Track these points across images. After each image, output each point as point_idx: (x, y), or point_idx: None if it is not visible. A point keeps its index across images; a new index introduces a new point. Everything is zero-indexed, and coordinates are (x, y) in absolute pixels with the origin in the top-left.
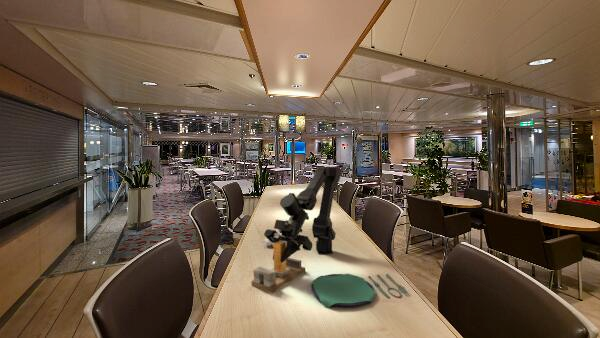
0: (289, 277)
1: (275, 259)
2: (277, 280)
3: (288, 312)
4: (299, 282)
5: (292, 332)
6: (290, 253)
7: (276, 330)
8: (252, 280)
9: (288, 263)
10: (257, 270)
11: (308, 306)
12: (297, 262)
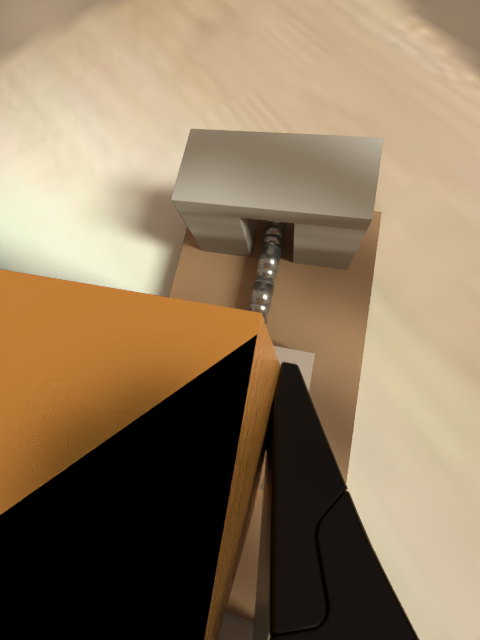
0: None
1: (251, 361)
2: (208, 290)
3: (72, 117)
4: None
5: (30, 44)
6: None
7: (79, 27)
8: (378, 218)
9: (246, 638)
10: (333, 139)
11: (7, 186)
12: None
